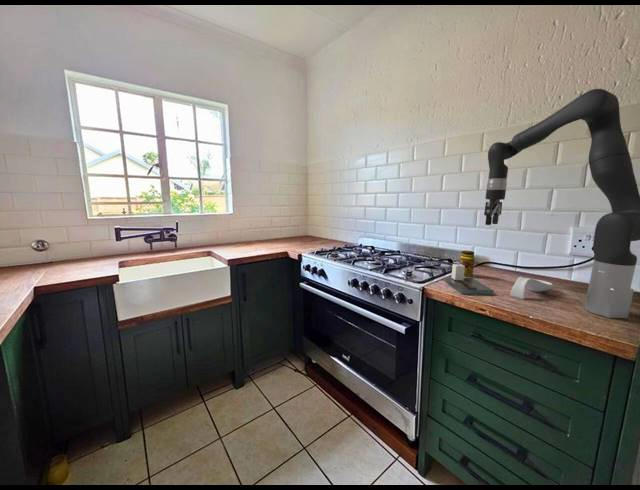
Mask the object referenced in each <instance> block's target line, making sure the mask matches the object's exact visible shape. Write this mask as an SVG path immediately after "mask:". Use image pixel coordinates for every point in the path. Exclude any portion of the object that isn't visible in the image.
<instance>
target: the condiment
mask: <svg viewBox="0 0 640 490" xmlns="http://www.w3.org/2000/svg"><path fill="white" fill-rule="evenodd" d="M474 256H475V251H473V250H461V256H460V258H459V259H460V260H459V264H462V265H463V266H465V270H464V278H473V279H476V276H475V275H474V266H475V257H474Z"/></svg>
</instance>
